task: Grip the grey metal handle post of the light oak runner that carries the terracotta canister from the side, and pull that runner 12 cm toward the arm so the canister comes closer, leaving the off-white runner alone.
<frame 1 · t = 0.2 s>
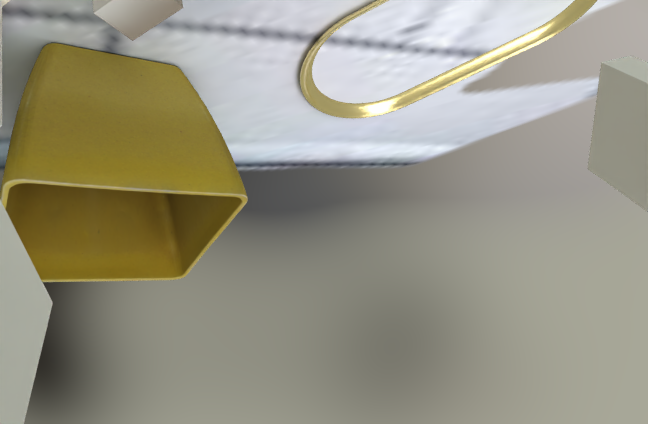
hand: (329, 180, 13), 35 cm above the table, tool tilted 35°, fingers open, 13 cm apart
flower pot: (101, 92, 59), on the table
loop handle: (446, 20, 63), on the table
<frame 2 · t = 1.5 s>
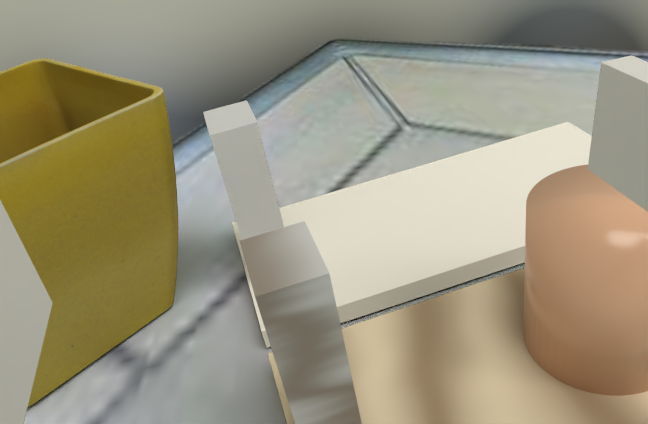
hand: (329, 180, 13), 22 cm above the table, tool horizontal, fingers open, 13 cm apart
white runner: (437, 149, 43), point 7 cm above the table, slide at 0.0 cm
flower pot: (70, 320, 45), on the table
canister: (597, 337, 33), point 2 cm above the table, touching oak runner
oak runner: (572, 277, 30), point 7 cm above the table, slide at 0.0 cm, touching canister
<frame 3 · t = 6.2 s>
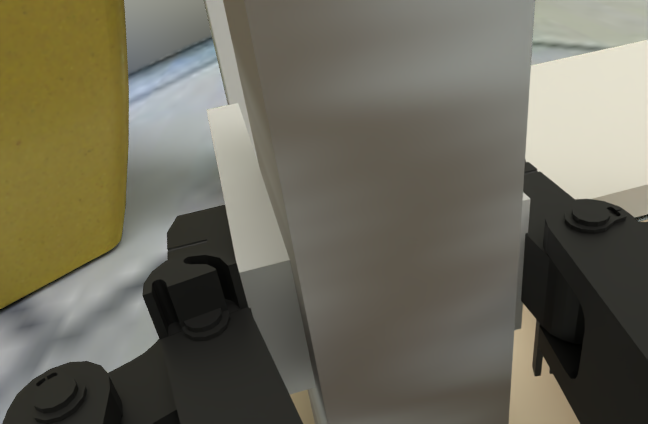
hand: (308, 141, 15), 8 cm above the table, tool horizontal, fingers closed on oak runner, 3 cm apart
white runner: (564, 9, 26), point 7 cm above the table, slide at 0.0 cm
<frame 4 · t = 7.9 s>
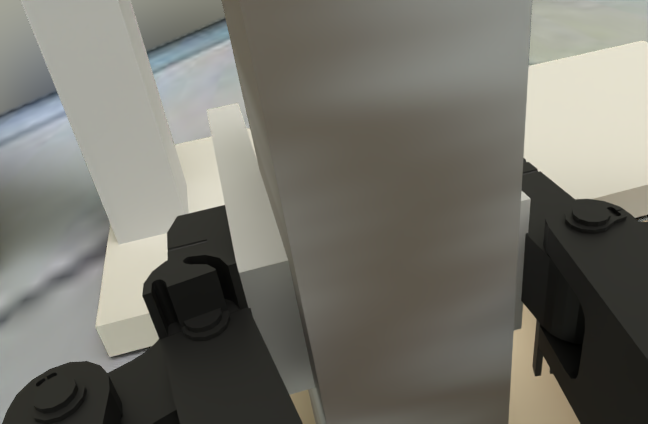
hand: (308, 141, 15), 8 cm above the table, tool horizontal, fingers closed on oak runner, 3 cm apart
white runner: (442, 35, 25), point 7 cm above the table, slide at 0.0 cm
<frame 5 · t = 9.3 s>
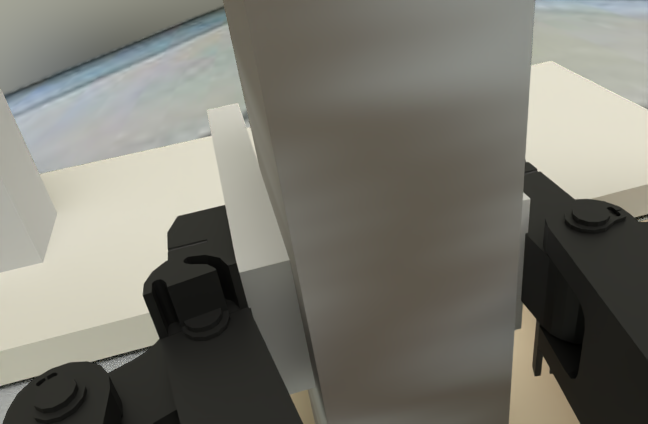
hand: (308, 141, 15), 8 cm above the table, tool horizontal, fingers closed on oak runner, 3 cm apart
white runner: (307, 63, 24), point 7 cm above the table, slide at 0.0 cm
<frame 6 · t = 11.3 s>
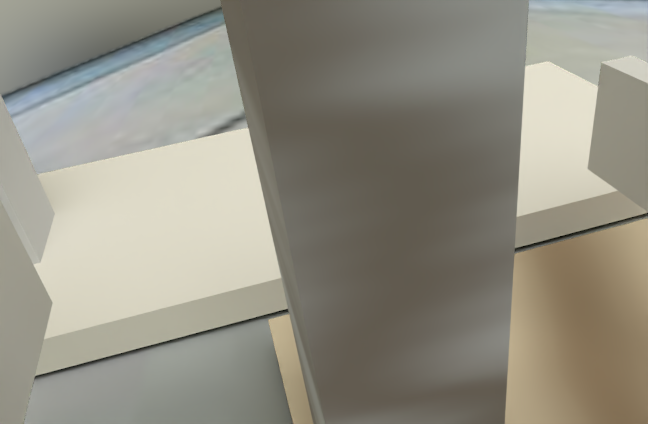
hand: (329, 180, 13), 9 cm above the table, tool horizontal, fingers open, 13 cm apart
white runner: (304, 63, 25), point 7 cm above the table, slide at 0.0 cm
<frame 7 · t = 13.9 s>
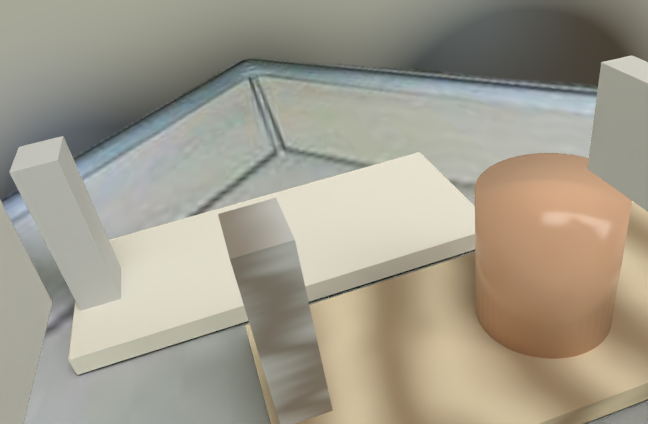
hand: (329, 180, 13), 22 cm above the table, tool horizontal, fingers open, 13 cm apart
white runner: (261, 183, 45), point 7 cm above the table, slide at 0.0 cm
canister: (541, 309, 37), point 2 cm above the table, touching oak runner
oak runner: (515, 253, 33), point 7 cm above the table, slide at 11.9 cm, touching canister
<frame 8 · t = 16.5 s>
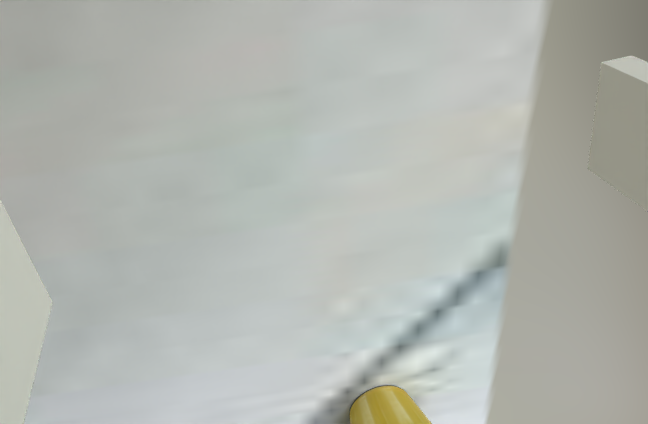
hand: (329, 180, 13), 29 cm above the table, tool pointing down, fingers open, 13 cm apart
plant pot: (379, 406, 62), on the table
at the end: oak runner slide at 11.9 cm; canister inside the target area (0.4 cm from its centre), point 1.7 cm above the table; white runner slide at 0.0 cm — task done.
